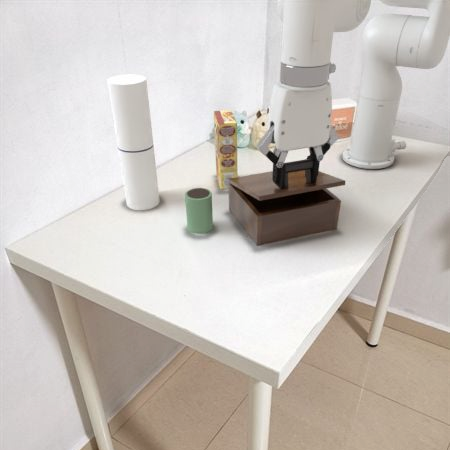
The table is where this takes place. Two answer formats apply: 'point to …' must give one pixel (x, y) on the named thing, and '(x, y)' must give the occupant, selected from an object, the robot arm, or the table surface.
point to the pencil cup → (199, 210)
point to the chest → (284, 214)
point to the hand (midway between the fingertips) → (294, 182)
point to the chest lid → (294, 181)
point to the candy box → (225, 147)
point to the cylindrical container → (134, 139)
